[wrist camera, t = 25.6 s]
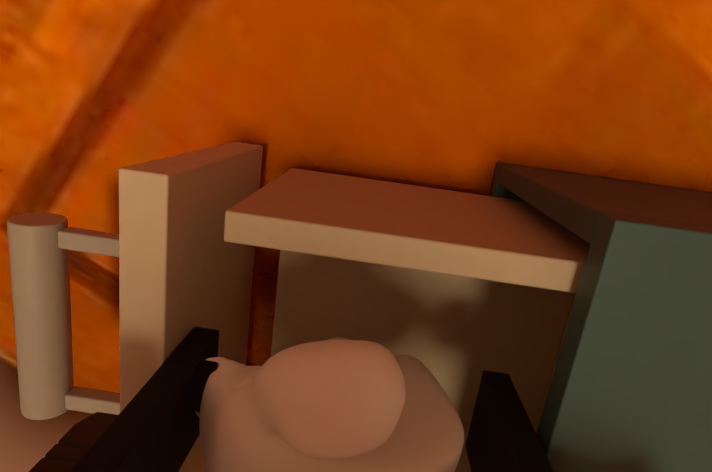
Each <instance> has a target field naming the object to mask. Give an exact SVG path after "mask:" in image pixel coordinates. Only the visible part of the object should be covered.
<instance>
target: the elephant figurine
mask: <svg viewBox="0 0 712 472" xmlns="http://www.w3.org/2000/svg"><path fill="white" fill-rule="evenodd" d="M205 360H208V361H214V362H217V363H219V364H220V365H219V367H218V369H217V370H216V371H214V372H212V373H211V374H210V376H209V377H208V379H207V382H206V385H205V388H204V391H203V395H202V401H201V407H200V414H199V413H198V412H196V411H195V413H196V414H197V416H198V417H199V431H200V440H201V445H202V450H203V455H204V462H205V472H455V470H456V467H457V465H458V462H459V459H460V456H461V453H462V449H463V444H464V429H463V425H462V422H461V419H460V417H459V415H458V413H457V411H456V409H455V407H454V406H453V404H452V402H451V401H450V399H449V398H448V396H447V394H446V393H445V391H444V390H443V388H442V387H441V385H440V384H439V382H438V381H437V379H436V378H435V377H434V375H433V374H432V373H431V372H430V370H429V369H428V368H427V367H426V366H425V365H424V364H423V363H422V362H421V361H420V360H419V359H417V358H415V357H413V356H410V355H406V354H398V355H393V354H392V353H391V352H390V351H389V350H388V349H387V348H386V347H384V346H382V345H380V344H378V343H375V342H371V341H363V340H348V339H346V338H343V337H333V338H330V339H328V340H325V341H316V342H309V343H304V344H300V345H296V346H293V347H290V348H287V349H285V350H283V351H280V352H279V353H277V354H275V355H274V356H272V357H271V358H269V359H268V360H267V361H266V362H265V363H264V364H263V366H247V365H243V364H240V363H238V362H236V361H233V360H229V359H226V358H224V357H212V358H208V359H205Z"/></svg>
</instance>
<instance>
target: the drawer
mask: <svg viewBox="0 0 712 472" xmlns="http://www.w3.org/2000/svg"><path fill="white" fill-rule="evenodd" d="M262 152H263V146H262V145H255V144H248V143H241V142H233V143H228V144H224V145H220V146H215V147H211V148H206V149H202V150H198V151H193V152H189V153H185V154H180V155H176V156H171V157H167V158H163V159H158V160H154V161H150V162H145V163H141V164H136V165H132V166H128V167H123V168H120V169H119V234H113V233H106V232H100V231H93V230H86V229H79V228H72V227H68V220H67V218H66V217H64V216H62V215H58V214H51V213H27V214H20V215H16V216H12V217H10V218H9V219H8V220H7V230H8V244H9V257H10V271H11V284H12V298H13V311H14V325H15V338H16V352H17V366H18V379H19V392H20V405H21V413H22V415H23V416H24V417H26V418H28V419H32V420H44V419H50V418H53V417H56V416H59V415H61V414H63V413H65V412H66V411H68V410H75V411H81V412H87V413H96V412H103V413H109V414H116V415H119V414H120V413H121V411H122V410H123V409H124V408H125V407H126V406H127V405H128V403H129V402H130V401H131V400H132V399H133V398H134V396H135V395H136V394H137V393H138V392H139V391H140V389H141V388H142V387H143V386H144V385H145V384H146V383H147V381H148V380H149V379H150V378H151V377H152V376H153V374H154V373H155V372H156V371H157V370H158V369H159V368H160V366H161V365H162V364H163V363H164V362H165V361H166V359H167V358H168V357H169V356H170V355H171V354H172V352H173V351H174V350H175V349H176V348H177V347H178V346H179V344H180V343H181V342H182V341H183V340H184V339H185V337H186V336H187V335H188V334H189V333H190V332H191V331H192V329H193V328H194V327H201V328H207V329H214V330H219V347H218V357H224V358H226V359H229V360H233V361H236V362H238V363H240V364H243V365H246V356H247V344H248V331H249V318H250V305H251V292H252V280H253V267H254V254H255V246H258V247H264V248H271V249H278V250H280V257H279V268H278V278H277V289H276V300H275V310H274V321H273V332H272V342H271V353H270V358H271V357H272V356H274V355H275V354H277V353H279V352H280V351H283V350H285V349H287V348H290V347H293V346H296V345H300V344H304V343H309V342H316V341H325V340H328V339H330V338H333V337H343V338H346V339H348V340H363V341H371V342H375V343H378V344H380V345H382V346H384V347H386V348H387V349H388V350H389V351H390V352H391V353H392V354H393V355H398V354H406V355H410V356H413V357H415V358H417V359H419V360H420V361H421V362H422V363H423V364H424V365H425V366H426V367H427V368H428V369H429V370H430V372H431V373H432V374H433V375H434V377H435V378H436V379H437V381H438V382H439V384H440V385H441V387H442V388H443V390H444V391H445V393H446V394H447V396H448V398H449V399H450V401H451V402H452V404H453V406H454V407H455V409H456V411H457V413H458V415H459V417H460V419H461V422H462V425H463V429H464V444H463V449H462V453H461V456H460V459H459V462H458V465H457V467H456V470H455V472H471V468H470V464H469V460H468V455H467V451H466V447H465V445H466V441H467V436H468V432H469V428H470V424H471V420H472V415H473V411H474V407H475V403H476V399H477V394H478V390H479V386H480V382H481V377H482V373H483V370H485V371H492V372H499V373H505V374H509V376H510V378H511V381H512V383H513V385H514V387H515V389H516V391H517V393H518V396H519V398H520V400H521V402H522V404H523V406H524V409H525V411H526V413H527V415H528V417H529V419H530V422H531V424H532V426H533V428H534V430H535V432H536V434H537V430H538V427H539V423H540V420H541V416H542V413H543V409H544V406H545V402H546V399H547V395H548V392H549V388H550V385H551V381H552V378H553V374H554V371H555V367H556V364H557V360H558V357H559V353H560V350H561V346H562V343H563V339H564V336H565V332H566V328H567V325H568V321H569V318H570V314H571V311H572V307H573V304H574V300H575V297H576V293H577V290H578V286H579V283H580V279H581V276H582V272H583V269H584V265H585V262H586V258H587V255H588V251H589V248H590V244H589V243H587V242H586V241H584V240H583V239H581V238H580V237H578V236H577V235H575V234H574V233H572V232H571V231H569V230H568V229H566V228H565V227H563V226H562V225H560V224H559V223H557V222H556V221H554V220H553V219H551V218H550V217H548V216H547V215H545V214H544V213H542V212H541V211H539V210H538V209H536V208H535V207H533V206H532V205H530V204H529V203H527V202H526V201H520V200H513V199H506V198H499V197H492V196H485V195H478V194H471V193H464V192H457V191H450V190H443V189H436V188H429V187H422V186H415V185H408V184H401V183H394V182H387V181H380V180H373V179H366V178H359V177H352V176H345V175H338V174H331V173H324V172H317V171H310V170H303V169H296V168H291V169H289V170H288V171H287V172H285V173H284V174H282V175H280V176H279V177H277V178H276V179H274V180H273V181H271V182H270V183H268V184H267V185H265V186H264V187H262V188H260V178H261V165H262ZM69 250H74V251H81V252H87V253H94V254H101V255H108V256H114V257H119V312H120V393H115V392H108V391H102V390H96V389H89V388H83V387H74V383H73V356H72V329H71V302H70V275H69ZM219 365H220V364H219V363H218V364H217V369H218V367H219ZM179 472H205V462H204V455H203V450H202V445H201V440H200V434H199V436H198V438H197V440H196V442H195V443H194V445H193V447H192V449H191V450H190V452H189V454H188V456H187V457H186V459H185V461H184V463H183V464H182V466H181V468H180V470H179Z"/></svg>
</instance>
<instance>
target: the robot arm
mask: <svg viewBox="0 0 712 472" xmlns="http://www.w3.org/2000/svg"><path fill="white" fill-rule="evenodd" d="M218 347H219V330H214V329H207V328H201V327H194V328H193V329H192V331H191V332H190V333H189V334H188V335H187V336H186V337H185V339H184V340H183V341H182V342H181V343H180V344H179V346H178V347H177V348H176V349H175V350H174V351H173V352H172V354H171V355H170V356H169V357H168V358H167V359H166V361H165V362H164V363H163V364H162V365H161V366H160V368H159V369H158V370H157V371H156V372H155V373H154V374H153V376H152V377H151V378H150V379H149V380H148V381H147V383H146V384H145V385H144V386H143V387H142V388H141V389H140V391H139V392H138V393H137V394H136V395H135V396H134V398H133V399H132V400H131V401H130V402H129V403H128V405H127V406H126V407H125V408H124V409H123V410H122V411H121V413H120V414H119V415H116V414H109V413H103V412H96V413H94V414H92V415H90V416H89V417H87V418H85V419H84V420H82V421H80V422H78V423H77V424H75V425H74V426H73V427H72V428H71V429H70V430H69V431H68V432H67V433H66V434H65V435H64V436H63V437H62V438H61V439H60V441H59V443H58V444H56V445H55V446H54V447H53V448H52V449H51V450H50V451H49V452H48V453H47V454H46V456H45V458H42V459H41V460H40V461H39V462H38V463H37V464H36V465H35V466H34V467H33V468H32V469H31V470H30V471H29V472H179V470H180V468H181V466H182V464H183V463H184V461H185V459H186V457H187V456H188V454H189V452H190V450H191V449H192V447H193V445H194V443H195V442H196V440H197V438H198V436H199V434H200V431H199V417H198V416H197V414H196V413H195V411H196V412H198V413H199V414H200V407H201V401H202V395H203V391H204V388H205V385H206V382H207V379H208V377H209V376H210V374H211V373H212V372H214V371H216V370H217V364H218V363H217V362H214V361H208V360H205V359H208V358H212V357H218ZM465 447H466V451H467V455H468V460H469V464H470V468H471V472H554V471H553V469H552V467H551V465H550V463H549V461H548V458H547V456H546V454H545V452H544V450H543V448H542V445H541V443H540V441H539V439H538V437H537V435H536V432H535V430H534V428H533V426H532V424H531V422H530V419H529V417H528V415H527V413H526V411H525V409H524V406H523V404H522V402H521V400H520V398H519V396H518V393H517V391H516V389H515V387H514V385H513V383H512V381H511V378H510V376H509V374H505V373H499V372H492V371H485V370H483V373H482V377H481V382H480V386H479V390H478V394H477V399H476V403H475V407H474V411H473V415H472V420H471V424H470V428H469V432H468V436H467V441H466V445H465Z"/></svg>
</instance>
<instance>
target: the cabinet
mask: <svg viewBox="0 0 712 472" xmlns="http://www.w3.org/2000/svg"><path fill="white" fill-rule="evenodd" d="M490 196H492V197H499V198H506V199H513V200H520V201H526V202H527V203H529V204H530V205H532V206H533V207H535V208H536V209H538V210H539V211H541V212H542V213H544V214H545V215H547V216H548V217H550V218H551V219H553V220H554V221H556V222H557V223H559V224H560V225H562V226H563V227H565V228H566V229H568V230H569V231H571V232H572V233H574V234H575V235H577V236H578V237H580V238H581V239H583V240H584V241H586V242H587V243H589V244H590V248H589V251H588V255H587V258H586V262H585V265H584V269H583V272H582V276H581V279H580V283H579V286H578V290H577V293H576V297H575V300H574V304H573V307H572V311H571V314H570V318H569V321H568V325H567V328H566V332H565V336H564V339H563V343H562V346H561V350H560V353H559V357H558V360H557V364H556V367H555V371H554V374H553V378H552V381H551V385H550V388H549V392H548V395H547V399H546V402H545V406H544V409H543V413H542V416H541V420H540V423H539V427H538V430H537V434H536V435H537V437H538V439H539V441H540V443H541V445H542V448H543V450H544V452H545V454H546V456H547V458H548V461H549V463H550V465H551V467H552V469H553V471H554V472H712V192H705V191H698V190H691V189H684V188H677V187H670V186H663V185H656V184H649V183H641V182H634V181H627V180H620V179H613V178H606V177H599V176H592V175H585V174H578V173H571V172H564V171H557V170H550V169H542V168H535V167H528V166H521V165H514V164H507V163H500V162H498V163H497V164H496V169H495V173H494V178H493V182H492V187H491V192H490Z"/></svg>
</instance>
